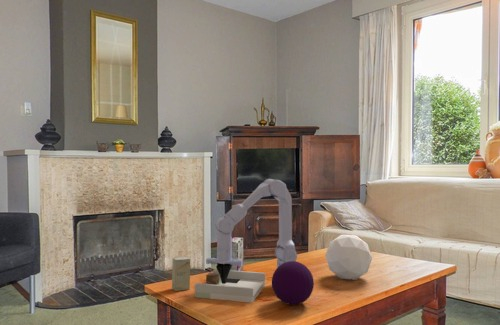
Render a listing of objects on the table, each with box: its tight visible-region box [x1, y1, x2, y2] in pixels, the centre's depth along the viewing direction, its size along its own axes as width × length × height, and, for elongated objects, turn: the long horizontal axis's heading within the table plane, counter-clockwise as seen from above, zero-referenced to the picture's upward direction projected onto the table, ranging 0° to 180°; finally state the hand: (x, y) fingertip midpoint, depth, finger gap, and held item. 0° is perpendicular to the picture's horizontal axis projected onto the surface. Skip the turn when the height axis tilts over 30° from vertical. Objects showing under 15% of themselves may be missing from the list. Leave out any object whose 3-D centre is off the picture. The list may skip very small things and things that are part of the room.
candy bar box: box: [230, 236, 244, 271], centre depth 183 cm, size 11×5×16 cm, turn 168°
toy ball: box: [271, 260, 315, 306], centre depth 149 cm, size 15×15×15 cm
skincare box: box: [171, 256, 191, 292], centre depth 165 cm, size 6×4×12 cm
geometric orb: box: [325, 234, 373, 281], centre depth 183 cm, size 19×20×20 cm
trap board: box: [194, 268, 266, 304], centre depth 163 cm, size 22×22×5 cm
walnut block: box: [205, 272, 219, 285], centre depth 165 cm, size 4×4×4 cm
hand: (224, 282), depth 164 cm, fingers closed
